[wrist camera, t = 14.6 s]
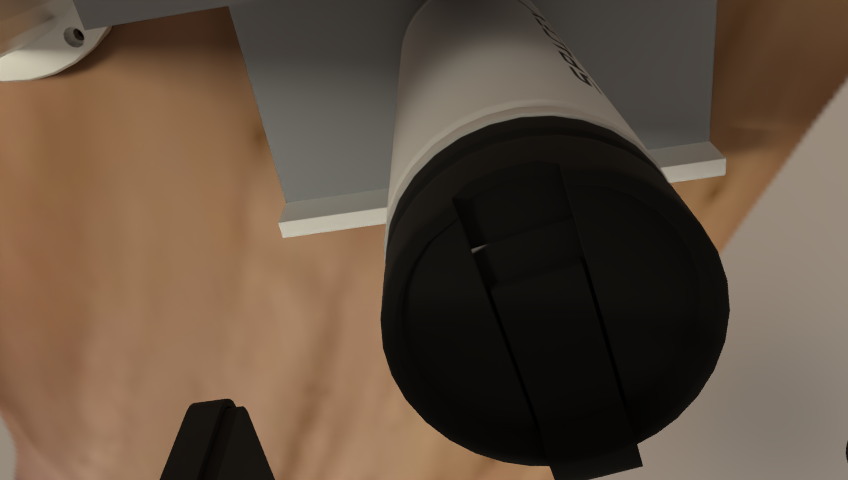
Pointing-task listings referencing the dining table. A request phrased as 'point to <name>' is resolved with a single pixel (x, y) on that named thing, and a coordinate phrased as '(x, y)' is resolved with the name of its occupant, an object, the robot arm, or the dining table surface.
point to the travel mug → (536, 252)
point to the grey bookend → (379, 75)
